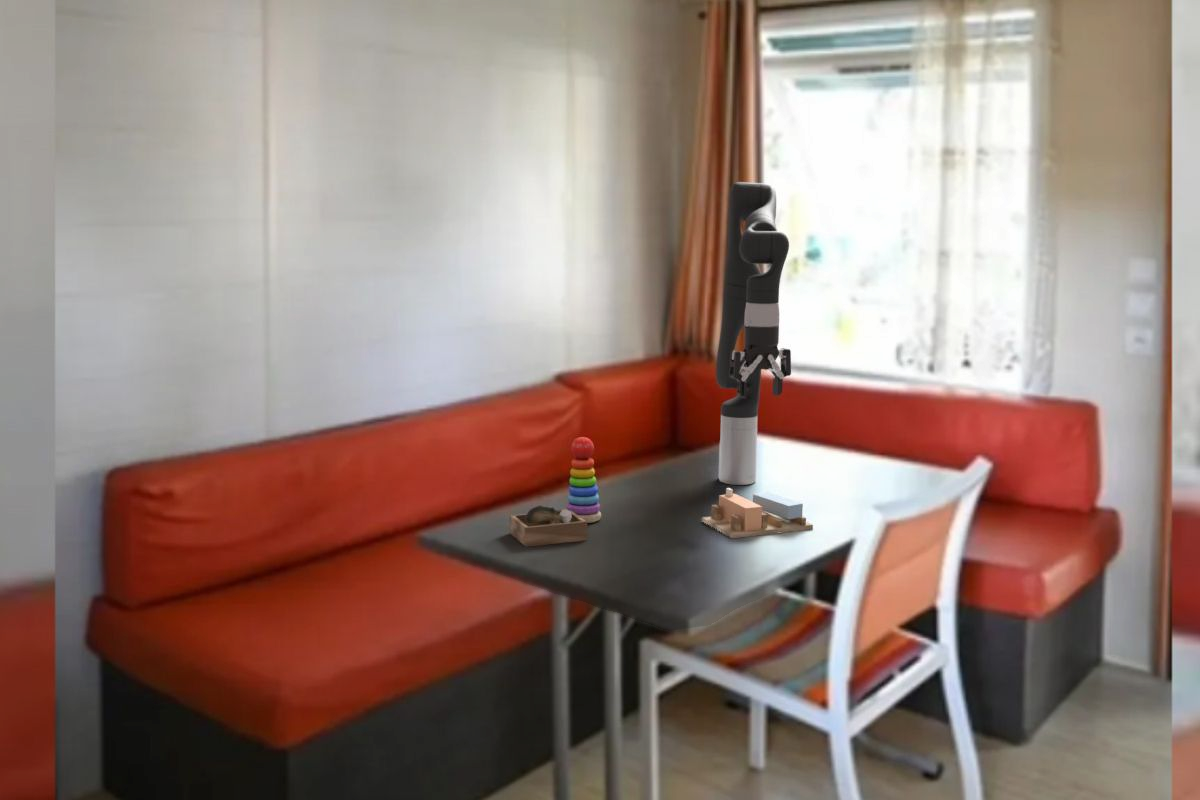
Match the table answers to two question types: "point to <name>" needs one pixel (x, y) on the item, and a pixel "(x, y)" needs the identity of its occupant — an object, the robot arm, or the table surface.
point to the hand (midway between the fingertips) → (759, 396)
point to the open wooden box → (547, 530)
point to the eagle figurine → (548, 515)
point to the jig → (768, 526)
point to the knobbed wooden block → (740, 510)
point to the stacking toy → (583, 482)
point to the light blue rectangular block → (778, 505)
